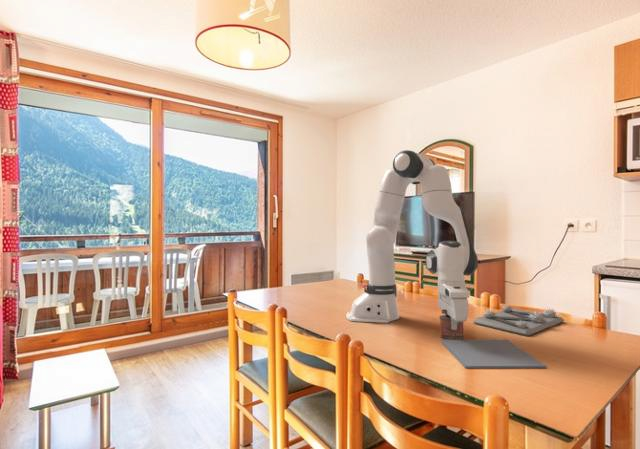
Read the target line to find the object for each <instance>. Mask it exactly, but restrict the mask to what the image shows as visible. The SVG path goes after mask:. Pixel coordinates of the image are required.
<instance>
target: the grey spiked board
mask: <svg viewBox="0 0 640 449" xmlns="http://www.w3.org/2000/svg"><path fill="white" fill-rule="evenodd" d="M557 314H558V312H557V311H556V310H555V309H554V308H552V309H551V308H548V307H546V309H544V310H541V311H538V310H534V309H533V311H530V310H525V309H520V308H516V307H515V308H514V307H512V306H511V305H510V304H504V305H501V309H500V311H497V312H496V311H495V310H494V309H489V308H488V309H487V310H486V309H484V310H483V312H482V316H480V317H477V318H475V319H473V320H472V322H473V323H474V324H475V325H477V326H482V327H487V328H491V329H496V330H499V331H503V332H508V333H512V334H517V335H521V336H525V337H529V336H531V335H534V334H536V333H538V332H541V331H544V330H546V329H549V328H551V327H554V326H556V325H559V324H561V323H563V322H564V321H565V319H564V318H563V317H562V316H559V315H557Z"/></svg>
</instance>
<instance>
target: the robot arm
mask: <svg viewBox="0 0 640 449" xmlns="http://www.w3.org/2000/svg"><path fill="white" fill-rule="evenodd" d="M410 184H412V185H419V184H420V187H421V189H420V190H421V202H422V207H423V210H425V212H426V213H428V215H430V216H431V217H434V218H435V219H439V220H442V221H444V222H447V223H448V224H450V225H451V227H452V228H453V229H454V231H453V232H454V233H455V237H456V240H454V241H453V240H443V241H441V242H439V243H438V247H436V248H434V249H431V250H430V251H429V252H428V253H427V254H426V255H425V268H426V270H428V271H429V273H430V274H432V275H437V292H438V293H437V306H438V307H437V308H439V309H440V310H441V311H442V309H446V310H447V314H448V315H449V316H450V317H451V329H452V330H456V329H457V323H458V322H463V323H464V322H465V323H466V322H467V321H468V317H469V300H468V298H470V291H469V289H468V287H467V286H466V282H465V281H466V280H465V276H466V277H468V276H471V275H472V274H474V273H475V272H476V270H477V269H478V268H479V259H478V255H477V253H476V251H475V248H474V245H473V241H472V238H471V234H470V230H469V225H468V223H467V220H466V215H465V213H464V211H463V209H462V207H461V206H459V205H458V204H457V203H456V201H455V199H454V197H453V188H452V184H451V179H450V174H449V171H448V169H447V168H446V167H445V166H444V165H440V164H435V162H434V161H433V159H431V158H429V157H427V156H426V155H424V154H422V153H419V152H415V151H413V150H409V149H407V150H406V149H404V150H402V151H399V152H398V153H397V154H396V155H395V156H394V158H393V161H392V168H388V169H387V170H386V171H385V172H384V175H383V177H382V180H381V182H380V186H379V189H378V192H377V197H376V202H375V206H374V214H373V221H372V222H373V223H372V227H371V229H369V230H368V232H367V233H366V238H365V239H366V240H365V241H366V255H367V262H368V263H367V264H368V283H363V284H362V288H363V290H364V293H362V294H360V296H358V297H356V299H354V300H353V302H352V304H351V308H350V309H351V310H350V311H347V312H346V318H347V320H349V321H350V322H359V323H360V322H361V323H381V324H382V323H383V324H388V323H390V322H392V321H395V320H399V319H400V314H399V310H398V309H399V308H398V306H397V303H398V302H397V294H398V293H397V292H398V289H397V288H398V287H397V284H396V264H395V263H396V262H395V250H394V249H395V248H394V247H395V246H394V245H395V243H396V239H397V235H398V230H399V226H400V219H401V214H402V211H403V210H402V209H403V205H404V201H405V198H406V197H405V196H406V192H407V188H408V187H409V185H410ZM444 315H446V314H444Z"/></svg>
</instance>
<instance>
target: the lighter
mask: <svg viewBox="0 0 640 449" xmlns="http://www.w3.org/2000/svg"><path fill="white" fill-rule="evenodd" d="M441 314H443V315H441ZM441 314H440V315H439V319H440V320H439V321H440V322H439V324H440V325H439V326H440V327H439V331H440V334H439V338H440V340H465V335H464V322H458V323H457V329H456V330H452V329H451V317H450V316H449V315H448V314H447V310H446V309H442V310H441ZM445 314H446V315H445Z"/></svg>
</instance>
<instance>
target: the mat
mask: <svg viewBox="0 0 640 449" xmlns="http://www.w3.org/2000/svg"><path fill="white" fill-rule="evenodd" d="M440 343H441V344H442V345H443V346H444V347H445V348H446V349H447V350H448V351H449V352H450V354H452V355H453V357H454V358H455V359H456V360H457V361H458V362H459V363H460V364H461V366H463V368H464V369H547V365H546V364H544V363H543V362H541V361H540V360H538V359H537V358H535V357H534V356H532V355H531V354H530V353H528V352H526V351H525V350H523V349H521V348H520V347H519V346H517V345H516V344H514V343H513V342H511V341H510V340H509V339H457V340H452V339H440Z"/></svg>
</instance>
